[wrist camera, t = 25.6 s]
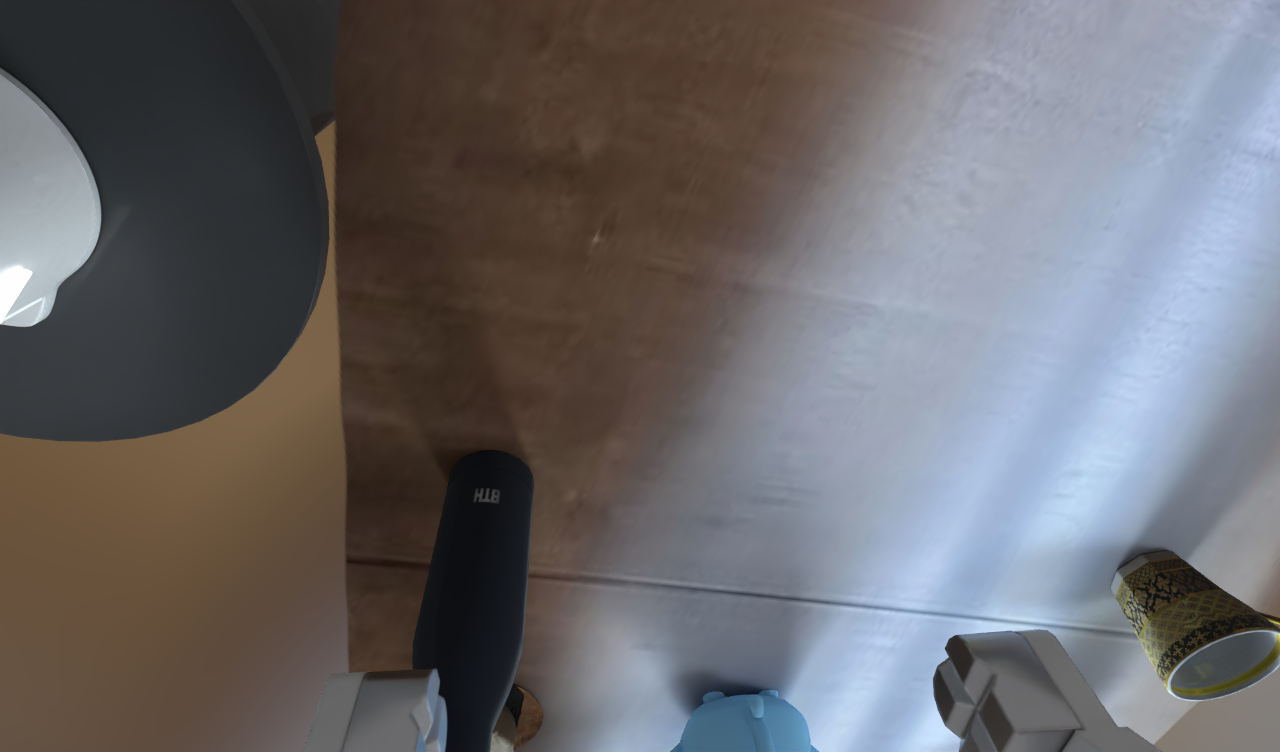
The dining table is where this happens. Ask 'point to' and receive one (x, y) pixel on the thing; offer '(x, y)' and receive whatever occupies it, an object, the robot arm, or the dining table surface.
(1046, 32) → the dining table surface
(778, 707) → the teapot
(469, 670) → the navy water bottle
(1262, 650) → the ceramic cup
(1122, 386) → the dining table surface
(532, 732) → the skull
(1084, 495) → the dining table surface
